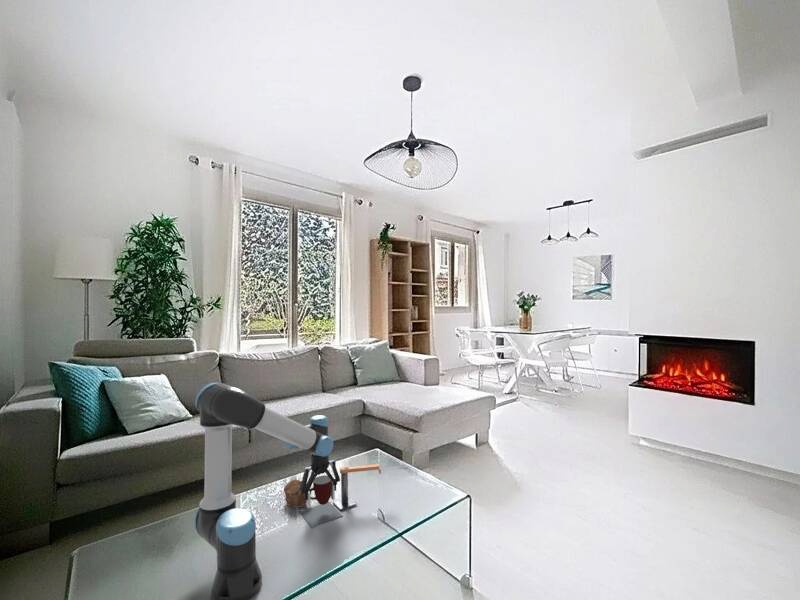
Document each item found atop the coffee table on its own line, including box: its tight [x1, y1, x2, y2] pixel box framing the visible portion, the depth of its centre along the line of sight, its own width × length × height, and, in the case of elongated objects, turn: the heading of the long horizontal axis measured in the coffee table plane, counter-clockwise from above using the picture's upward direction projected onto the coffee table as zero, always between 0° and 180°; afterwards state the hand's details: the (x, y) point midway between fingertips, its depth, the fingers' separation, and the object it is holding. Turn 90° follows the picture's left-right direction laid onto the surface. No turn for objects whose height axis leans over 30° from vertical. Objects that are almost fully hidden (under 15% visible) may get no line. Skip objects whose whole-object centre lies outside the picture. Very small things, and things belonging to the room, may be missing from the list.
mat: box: [299, 501, 343, 529], centre depth 168 cm, size 14×14×1 cm
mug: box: [309, 474, 332, 505], centre depth 168 cm, size 11×8×10 cm
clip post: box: [332, 473, 358, 512], centre depth 175 cm, size 8×8×14 cm
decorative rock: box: [283, 478, 306, 508], centre depth 177 cm, size 13×11×10 cm
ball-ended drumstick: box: [339, 463, 382, 475], centre depth 177 cm, size 4×19×4 cm, turn 101°
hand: (320, 502), depth 168 cm, fingers closed on mug, 10 cm apart
